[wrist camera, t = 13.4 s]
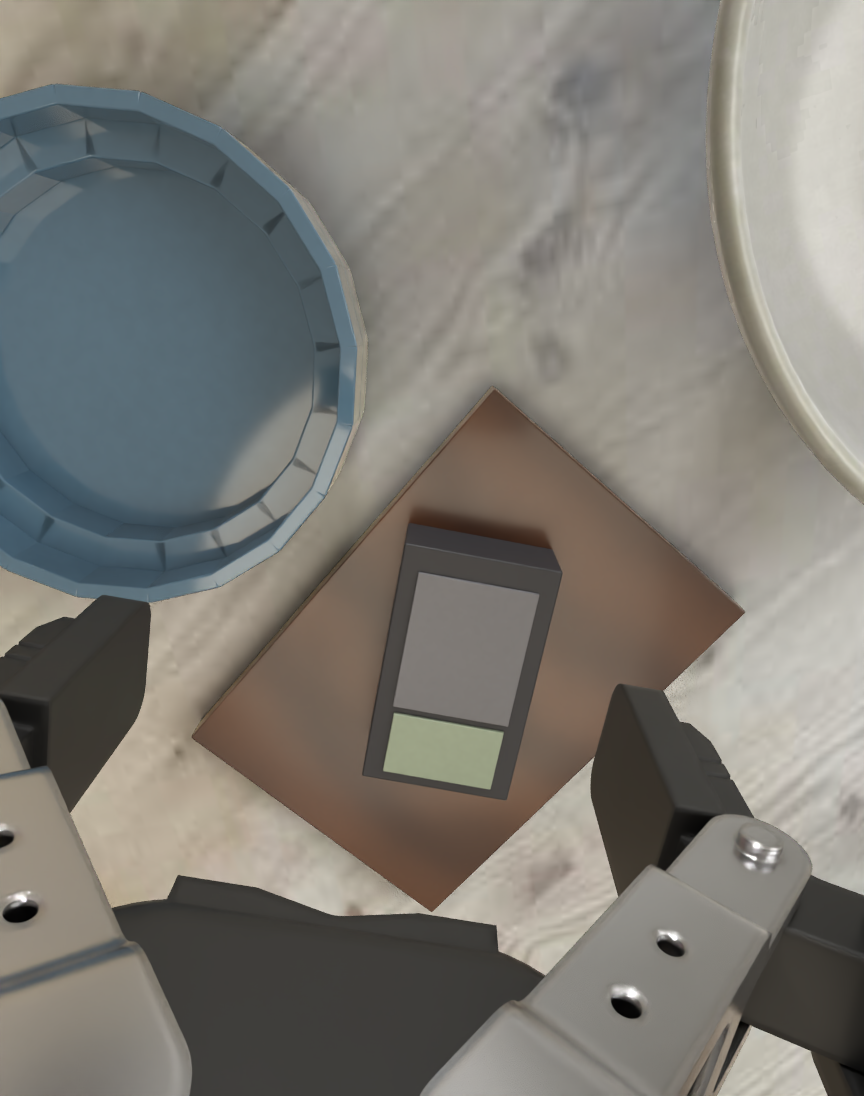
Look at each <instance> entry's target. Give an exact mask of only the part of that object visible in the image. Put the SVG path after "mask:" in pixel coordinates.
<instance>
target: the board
mask: <svg viewBox="0 0 864 1096" xmlns="http://www.w3.org/2000/svg"><path fill="white" fill-rule="evenodd" d="M409 523H413V524H418V525H424V526H429V527H434V528H440V529H445V530H450V531H456V532H461V533H467V534H472V535H477V536H483V537H488V538H494V539H499V540H504V541H510V542H515V543H520V544H526V545H531V546H537V547H542V548H547V549H552V550H553V551H554V554H555V556H556V558H557V561H558V563H559V565H560V568H561V570H562V572H563V575H562V579H561V583H560V587H559V591H558V595H557V599H556V603H555V607H554V611H553V615H552V619H551V623H550V627H549V631H548V635H547V640H546V644H545V648H544V652H543V656H542V660H541V664H540V668H539V672H538V676H537V680H536V684H535V688H534V692H533V696H532V700H531V704H530V708H529V713H528V717H527V721H526V725H525V729H524V733H523V737H522V741H521V745H520V749H519V753H518V757H517V761H516V765H515V769H514V773H513V777H512V781H511V785H510V790H509V794H508V798H507V800H499V799H493V798H488V797H482V796H476V795H470V794H465V793H459V792H453V791H447V790H442V789H436V788H430V787H424V786H419V785H413V784H407V783H401V782H396V781H390V780H384V779H378V778H373V777H367V776H363V775H362V770H363V765H364V759H365V753H366V748H367V742H368V737H369V731H370V726H371V721H372V715H373V710H374V704H375V699H376V694H377V688H378V683H379V678H380V672H381V667H382V661H383V656H384V651H385V645H386V640H387V635H388V629H389V624H390V618H391V613H392V608H393V602H394V597H395V592H396V586H397V581H398V575H399V570H400V565H401V559H402V554H403V549H404V543H405V538H406V532H407V527H408V524H409ZM744 613H745V611H744V610H743V609H742V608H741V607H740V606H739V605H738V604H737V603H736V602H735V601H734V599H732V598H731V597H730V596H729V595H728V594H727V593H726V592H725V591H723V590H722V589H721V588H720V587H719V586H718V585H717V584H716V583H714V582H713V581H712V580H711V579H710V578H709V577H708V576H707V575H705V574H704V573H703V572H702V571H701V570H700V569H699V568H698V567H696V566H695V565H694V564H693V563H692V562H691V561H690V560H689V559H687V558H686V557H685V556H684V555H683V554H682V553H681V552H680V551H678V550H677V549H676V548H675V547H674V546H673V545H672V544H671V543H669V542H668V541H667V540H666V539H665V538H664V537H663V536H661V535H660V534H659V533H658V532H657V531H656V530H655V529H654V528H652V527H651V526H650V525H649V524H648V523H647V522H646V521H645V520H643V519H642V518H641V517H640V516H639V515H638V514H637V513H636V512H634V511H633V510H632V509H631V508H630V507H629V506H628V505H627V504H625V503H624V502H623V501H622V500H621V499H620V498H619V497H618V496H616V495H615V494H614V493H613V492H612V491H611V490H610V489H609V488H607V487H606V486H605V485H604V484H603V483H602V482H601V481H600V480H598V479H597V478H596V477H595V476H594V475H593V474H592V473H591V472H589V471H588V470H587V469H586V468H585V467H584V466H583V465H582V464H580V463H579V462H578V461H577V460H576V459H575V458H574V457H573V456H571V455H570V454H569V453H568V452H567V451H566V450H565V449H564V448H562V447H561V446H560V445H559V444H558V443H557V442H556V441H555V440H553V439H552V438H551V437H550V436H549V435H548V434H547V433H546V432H544V431H543V430H542V429H541V428H540V427H539V426H538V425H537V424H535V423H534V422H533V421H532V420H531V419H530V418H529V417H528V416H526V415H525V414H524V413H523V412H522V411H521V410H520V409H519V408H517V407H516V406H515V405H514V404H513V403H512V402H511V401H510V400H508V399H507V398H506V397H505V396H504V395H503V394H502V393H501V392H499V391H498V390H497V389H496V388H495V387H494V386H491V388H490V389H489V390H488V391H487V392H486V393H485V394H484V396H483V397H482V398H481V399H480V400H479V401H478V402H477V404H476V405H475V406H474V407H473V408H472V409H471V411H470V412H469V413H468V414H467V415H466V416H465V417H464V419H463V420H462V421H461V422H460V423H459V424H458V425H457V427H456V428H455V429H454V430H453V431H452V432H451V434H450V435H449V436H448V437H447V438H446V439H445V440H444V442H443V443H442V444H441V445H440V446H439V447H438V448H437V450H436V451H435V452H434V453H433V454H432V455H431V457H430V458H429V459H428V460H427V461H426V462H425V463H424V465H423V466H422V467H421V468H420V469H419V470H418V471H417V473H416V474H415V475H414V476H413V477H412V478H411V479H410V481H409V482H408V483H407V484H406V485H405V486H404V488H403V489H402V490H401V491H400V492H399V493H398V494H397V496H396V497H395V498H394V499H393V500H392V501H391V502H390V504H389V505H388V506H387V507H386V508H385V509H384V511H383V512H382V513H381V514H380V515H379V516H378V517H377V519H376V520H375V521H374V522H373V523H372V524H371V525H370V527H369V528H368V529H367V530H366V531H365V532H364V534H363V535H362V536H361V537H360V538H359V539H358V540H357V542H356V543H355V544H354V545H353V546H352V547H351V548H350V550H349V551H348V552H347V553H346V554H345V555H344V557H343V558H342V559H341V560H340V561H339V562H338V563H337V565H336V566H335V567H334V568H333V569H332V570H331V571H330V573H329V574H328V575H327V576H326V577H325V578H324V580H323V581H322V582H321V583H320V584H319V585H318V586H317V588H316V589H315V590H314V591H313V592H312V593H311V594H310V596H309V597H308V598H307V599H306V600H305V601H304V603H303V604H302V605H301V606H300V607H299V608H298V609H297V611H296V612H295V613H294V614H293V615H292V616H291V617H290V619H289V620H288V621H287V622H286V623H285V624H284V626H283V627H282V628H281V629H280V630H279V631H278V632H277V634H276V635H275V636H274V637H273V638H272V639H271V640H270V642H269V643H268V644H267V645H266V646H265V647H264V649H263V650H262V651H261V652H260V653H259V654H258V655H257V657H256V658H255V659H254V660H253V661H252V662H251V663H250V665H249V666H248V667H247V668H246V669H245V670H244V672H243V673H242V674H241V675H240V676H239V677H238V678H237V680H236V681H235V682H234V683H233V684H232V685H231V686H230V688H229V689H228V690H227V691H226V692H225V693H224V695H223V696H222V697H221V698H220V699H219V700H218V701H217V703H216V704H215V705H214V706H213V707H212V708H211V709H210V711H209V712H208V713H207V714H206V715H205V716H204V718H203V719H202V720H201V721H200V723H199V724H198V726H197V728H196V730H195V731H194V733H193V735H192V738H193V739H194V740H195V741H197V742H198V743H200V744H201V745H202V746H204V747H205V748H206V749H208V750H209V751H211V752H212V753H213V754H215V755H216V756H217V757H219V758H220V759H222V760H223V761H224V762H226V763H227V764H228V765H230V766H231V767H233V768H234V769H235V770H237V771H238V772H239V773H241V774H242V775H244V776H245V777H246V778H248V779H249V780H250V781H252V782H253V783H255V784H256V785H257V786H259V787H260V788H262V789H263V790H264V791H266V792H267V793H268V794H270V795H271V796H273V797H274V798H275V799H277V800H278V801H279V802H281V803H282V804H284V805H285V806H286V807H288V808H289V809H290V810H292V811H293V812H295V813H296V814H297V815H299V816H300V817H301V818H303V819H304V820H306V821H307V822H308V823H310V824H311V825H312V826H314V827H315V828H317V829H318V830H319V831H321V832H322V833H323V834H325V835H326V836H328V837H329V838H330V839H332V840H333V841H334V842H336V843H337V844H339V845H340V846H341V847H343V848H344V849H345V850H347V851H348V852H350V853H351V854H352V855H354V856H355V857H356V858H358V859H359V860H361V861H362V862H363V863H365V864H366V865H368V866H369V867H370V868H372V869H373V870H374V871H376V872H377V873H379V874H380V875H381V876H383V877H384V878H385V879H387V880H388V881H390V882H391V883H392V884H394V885H395V886H396V887H398V888H399V889H401V890H402V891H403V892H405V893H406V894H407V895H409V896H410V897H412V898H413V899H414V900H416V901H417V902H418V903H420V904H421V905H423V906H424V907H425V908H427V909H428V910H429V911H431V912H432V911H433V910H434V909H436V908H437V907H438V906H439V905H440V904H441V903H442V902H443V901H444V900H445V899H446V898H447V897H448V896H449V895H450V894H451V893H452V892H453V891H454V890H455V889H456V888H457V887H459V886H460V885H461V884H462V883H463V882H464V881H465V880H466V879H467V878H468V877H469V876H470V875H471V874H472V873H473V872H474V871H475V870H476V869H477V868H478V867H479V866H480V865H482V864H483V863H484V862H485V861H486V860H487V859H488V858H489V857H490V856H491V855H492V854H493V853H494V852H495V851H496V850H497V849H498V848H499V847H500V846H501V845H502V844H503V843H505V842H506V841H507V840H508V839H509V838H510V837H511V836H512V835H513V834H514V833H515V832H516V831H517V830H518V829H519V828H520V827H521V826H522V825H523V824H524V823H525V822H526V821H528V820H529V819H530V818H531V817H532V816H533V815H534V814H535V813H536V812H537V811H538V810H539V809H540V808H541V807H542V806H543V805H544V804H545V803H546V802H547V801H548V800H549V799H551V798H552V797H553V796H554V795H555V794H556V793H557V792H558V791H559V790H560V789H561V788H562V787H563V786H564V785H565V784H566V783H567V782H568V781H569V780H570V779H571V778H572V777H574V776H575V775H576V774H577V773H578V772H579V771H580V770H581V769H582V768H583V767H584V766H585V765H586V764H587V763H588V762H589V761H590V760H591V759H592V758H593V757H594V756H595V754H596V751H597V747H598V743H599V740H600V736H601V733H602V729H603V725H604V722H605V718H606V714H607V711H608V707H609V703H610V700H611V696H612V694H613V691H614V689H615V687H616V686H617V685H618V684H626V685H632V686H638V687H644V688H650V689H656V690H661V691H663V690H665V689H666V688H667V687H668V686H669V685H670V684H671V683H672V682H673V681H674V680H675V679H676V678H677V677H678V676H679V675H680V674H681V673H682V672H683V671H684V670H685V669H686V668H688V667H689V666H690V665H691V664H692V663H693V662H694V661H695V660H696V659H697V658H698V657H699V656H700V655H701V654H702V653H703V652H704V651H705V650H706V649H707V648H708V647H709V646H711V645H712V644H713V643H714V642H715V641H716V640H717V639H718V638H719V637H720V636H721V635H722V634H723V633H724V632H725V631H726V630H727V629H728V628H729V627H730V626H731V625H732V624H734V623H735V622H736V621H737V620H738V619H739V618H740V617H741V616H742V615H743V614H744Z"/></svg>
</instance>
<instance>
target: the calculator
mask: <svg viewBox="0 0 864 1096" xmlns="http://www.w3.org/2000/svg"><path fill="white" fill-rule="evenodd" d="M562 575H563V572H562V570H561V568H560V565H559V563H558V561H557V558H556V556H555V554H554V551H553V550H552V549H547V548H542V547H537V546H531V545H526V544H520V543H515V542H510V541H504V540H499V539H494V538H488V537H483V536H477V535H472V534H467V533H461V532H456V531H450V530H445V529H440V528H434V527H429V526H424V525H418V524H413V523H409V524H408V527H407V532H406V538H405V543H404V549H403V554H402V559H401V565H400V570H399V575H398V581H397V586H396V592H395V597H394V602H393V608H392V613H391V618H390V624H389V629H388V635H387V640H386V645H385V651H384V656H383V661H382V667H381V672H380V678H379V683H378V688H377V694H376V699H375V704H374V710H373V715H372V721H371V726H370V731H369V737H368V742H367V748H366V753H365V759H364V765H363V770H362V775H363V776H367V777H373V778H378V779H384V780H390V781H396V782H401V783H407V784H413V785H419V786H424V787H430V788H436V789H442V790H447V791H453V792H459V793H465V794H470V795H476V796H482V797H488V798H493V799H499V800H507V798H508V794H509V790H510V785H511V781H512V777H513V773H514V769H515V765H516V761H517V757H518V753H519V749H520V745H521V741H522V737H523V733H524V729H525V725H526V721H527V717H528V713H529V708H530V704H531V700H532V696H533V692H534V688H535V684H536V680H537V676H538V672H539V668H540V664H541V660H542V656H543V652H544V648H545V644H546V640H547V635H548V631H549V627H550V623H551V619H552V615H553V611H554V607H555V603H556V599H557V595H558V591H559V587H560V583H561V579H562Z"/></svg>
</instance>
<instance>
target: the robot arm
mask: <svg viewBox="0 0 864 1096" xmlns="http://www.w3.org/2000/svg"><path fill="white" fill-rule="evenodd" d="M150 621H151V611H150V606H149V603H148V602H144V601H138V600H132V599H126V598H120V597H114V596H108V595H101V596H100V597H98V598H97V599H96V600H95V601H94V602H93V603H92V604H91V605H90V606H88V607H87V608H86V609H85V610H84V611H83V612H82V613H81V614H80V615H79V616H77V617H76V618H75V619H74V618H68V617H62V618H60V619H57V620H54V621H52V622H49V623H46V624H44V625H41V626H39V627H36V628H35V629H34V630H33V631H31V632H30V633H29V634H28V635H27V636H25V637H24V638H23V639H22V640H21V641H20V642H19V645H15V646H14V647H12V648H11V649H10V650H9V651H8V652H6V653H5V656H4V657H1V658H0V1096H717V1095H718V1093H719V1091H720V1089H721V1087H722V1085H723V1083H724V1081H725V1079H726V1077H727V1075H728V1073H729V1071H730V1069H731V1068H732V1066H733V1064H734V1062H735V1060H736V1058H737V1056H738V1054H739V1052H740V1050H741V1048H742V1046H743V1044H744V1042H745V1041H746V1039H747V1037H748V1035H749V1032H750V1030H751V1027H752V1026H753V1027H756V1028H758V1029H760V1030H763V1031H765V1032H768V1033H770V1034H772V1035H775V1036H777V1037H779V1038H782V1039H784V1040H786V1041H789V1042H791V1043H794V1044H796V1045H798V1046H801V1047H803V1048H805V1049H808V1050H810V1051H811V1053H812V1057H813V1060H814V1063H815V1066H816V1068H817V1070H818V1073H819V1075H820V1078H821V1080H822V1083H823V1085H824V1088H825V1090H826V1093H827V1095H828V1096H864V895H861V894H858V893H855V892H853V891H850V890H847V889H844V888H842V887H839V886H836V885H833V884H831V883H828V882H826V881H823V880H821V879H818V878H816V877H814V876H812V875H811V872H812V863H811V860H810V858H809V856H808V854H807V853H806V851H805V850H804V849H803V848H802V847H801V846H800V845H799V844H798V843H797V842H796V841H795V840H794V839H793V838H791V837H790V836H789V835H787V834H786V833H784V832H783V831H781V830H779V829H778V828H776V827H774V826H772V825H770V824H768V823H766V822H763V821H760V820H758V819H755V818H754V817H753V815H752V813H751V811H750V810H749V808H748V806H747V804H746V803H745V801H744V799H743V797H742V796H741V794H740V792H739V790H738V789H737V787H736V785H735V783H734V782H733V780H730V774H729V773H728V771H727V769H726V767H725V766H724V764H721V761H722V760H721V759H720V757H719V755H718V753H717V752H716V750H715V748H714V746H713V745H712V743H711V741H709V740H708V739H707V738H706V737H705V736H704V735H702V734H701V733H700V732H699V731H698V730H697V729H696V728H694V727H693V726H692V725H691V724H690V723H684V722H679V720H678V718H677V716H676V714H675V713H674V711H673V709H672V707H671V705H670V703H669V701H668V699H667V697H666V695H665V694H664V692H663V691H661V690H656V689H650V688H644V687H638V686H632V685H626V684H618V685H617V686H616V687H615V689H614V691H613V694H612V696H611V700H610V703H609V707H608V711H607V714H606V718H605V722H604V725H603V729H602V733H601V736H600V740H599V743H598V747H597V751H596V754H595V758H594V762H593V767H592V773H591V798H592V803H593V806H594V810H595V814H596V817H597V821H598V824H599V828H600V832H601V835H602V839H603V843H604V846H605V850H606V853H607V857H608V861H609V864H610V868H611V872H612V875H613V879H614V883H615V886H616V890H617V893H618V898H617V899H616V900H615V901H614V902H613V903H612V905H611V906H610V907H609V908H608V909H607V910H606V911H605V912H604V913H603V914H602V915H601V916H600V918H599V919H598V920H597V921H596V922H595V923H594V924H593V925H592V926H591V927H590V928H589V929H588V931H587V932H586V933H585V934H584V935H583V936H582V937H581V938H580V939H579V940H578V941H577V943H576V944H575V945H574V946H573V947H572V948H571V949H570V950H569V951H568V952H567V953H566V954H565V956H564V957H563V958H562V959H561V960H560V961H559V962H558V963H557V964H556V965H555V966H554V967H553V969H552V970H551V971H550V972H549V973H548V974H547V975H546V976H545V975H543V974H542V973H540V972H539V971H537V970H535V969H534V968H532V967H530V966H529V965H527V964H525V963H523V962H521V961H519V960H517V959H515V958H513V957H511V956H509V955H506V954H504V953H501V952H498V941H497V927H496V925H489V924H483V923H477V922H470V921H464V920H458V919H451V918H445V917H439V916H432V915H426V914H420V913H416V914H391V915H366V916H334V915H330V914H327V913H324V912H321V911H319V910H316V909H313V908H311V907H308V906H305V905H302V904H300V903H297V902H294V901H292V900H289V899H286V898H283V897H281V896H278V895H275V894H273V893H270V892H267V891H265V890H262V889H259V888H256V887H249V886H243V885H237V884H230V883H224V882H218V881H211V880H205V879H199V878H192V877H186V876H180V875H178V876H177V878H176V881H175V883H174V885H173V887H172V889H171V892H170V894H169V896H168V898H167V899H163V900H151V901H144V902H136V903H131V904H127V905H122V906H118V907H114V908H111V906H110V904H109V902H108V899H107V897H106V895H105V892H104V890H103V888H102V886H101V883H100V881H99V879H98V876H97V874H96V872H95V870H94V867H93V865H92V863H91V861H90V858H89V856H88V854H87V851H86V849H85V847H84V845H83V842H82V840H81V838H80V835H79V833H78V831H77V829H76V826H75V824H74V822H73V819H72V817H71V815H70V812H71V811H72V810H73V808H74V807H75V805H76V804H77V803H78V801H79V800H80V798H81V797H82V796H83V794H84V793H85V791H86V790H87V789H88V787H89V786H90V784H91V783H92V782H93V780H94V779H95V777H96V776H97V774H98V773H99V772H100V770H101V769H102V767H103V766H104V765H105V763H106V762H107V760H108V759H109V758H110V756H111V755H112V753H113V752H114V751H115V749H116V748H117V746H118V745H119V744H120V742H121V741H122V739H123V738H124V737H125V735H126V734H127V732H128V731H129V729H130V728H131V727H132V725H133V724H134V722H135V720H136V718H137V716H138V714H139V711H140V709H141V705H142V702H143V698H144V693H145V685H146V673H147V660H148V647H149V634H150Z"/></svg>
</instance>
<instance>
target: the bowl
mask: <svg viewBox="0 0 864 1096" xmlns="http://www.w3.org/2000/svg"><path fill="white" fill-rule="evenodd" d="M367 357H368V337H367V333H366V329H365V325H364V321H363V317H362V313H361V309H360V305H359V301H358V297H357V294H356V290H355V286H354V282H353V278H352V274H351V270H350V269H349V266H348V264H347V263H346V261H345V259H344V258H343V256H342V254H341V253H340V251H339V249H338V248H337V246H336V244H335V243H334V241H333V239H332V238H331V236H330V234H329V233H328V231H327V229H326V228H325V226H324V224H323V223H322V221H321V219H320V218H319V216H318V214H317V213H316V211H315V209H314V208H313V206H312V205H311V204H310V202H309V201H308V200H307V199H306V198H305V197H304V196H303V195H301V194H300V193H299V192H298V191H297V190H296V189H295V188H294V187H293V186H291V185H290V184H289V183H288V182H287V181H286V180H285V179H284V178H282V177H281V176H280V175H279V174H278V173H277V172H276V171H275V170H273V169H272V168H271V167H270V166H269V165H268V164H267V163H266V162H265V161H263V160H262V159H261V158H260V157H259V156H258V155H257V154H256V153H254V152H253V151H252V150H251V149H250V148H248V147H247V146H246V145H244V144H243V143H242V142H241V141H239V140H238V139H237V138H235V137H234V136H233V135H232V134H230V133H229V132H228V131H226V130H225V129H223V128H222V127H221V126H218V125H216V124H214V123H212V122H209V121H207V120H205V119H203V118H200V117H198V116H196V115H194V114H191V113H189V112H187V111H185V110H182V109H180V108H178V107H176V106H174V105H171V104H169V103H167V102H165V101H162V100H160V99H158V98H156V97H153V96H151V95H149V94H147V93H144V92H140V91H137V90H125V89H114V88H102V87H91V86H79V85H68V84H50V85H46V86H43V87H39V88H35V89H32V90H28V91H25V92H21V93H18V94H14V95H10V96H7V97H3V98H0V566H1V567H2V568H4V569H7V571H10V572H12V573H15V574H18V575H20V576H23V577H25V578H28V579H31V580H33V581H36V582H38V583H41V584H44V585H46V586H49V587H52V588H54V589H57V590H59V591H62V592H65V593H67V594H70V595H73V596H77V597H81V598H93V599H97V598H98V597H100V596H101V595H108V596H114V597H120V598H126V599H132V600H138V601H144V602H148V603H149V602H150V603H152V602H157V601H161V600H166V599H170V598H175V597H179V596H184V595H188V594H193V593H197V592H202V591H206V590H211V589H215V588H218V587H221V586H223V585H225V584H226V583H228V582H230V581H231V580H233V579H235V578H236V577H238V576H240V575H241V574H243V573H245V572H246V571H248V570H250V569H251V568H253V567H255V566H256V565H258V564H260V563H261V562H263V561H265V560H266V559H268V558H270V557H271V556H273V555H275V554H276V553H278V552H279V551H280V550H281V549H282V548H283V547H284V546H285V544H286V543H287V542H288V541H289V540H290V539H291V537H292V536H293V535H294V534H295V533H296V531H297V530H298V529H299V528H300V527H301V525H302V524H303V523H304V522H305V521H306V520H307V518H308V517H309V516H310V515H311V514H312V512H313V511H314V510H315V509H316V508H317V507H318V505H319V504H320V503H321V502H322V501H323V499H324V498H325V497H326V495H327V493H328V492H329V490H330V489H331V487H332V485H333V484H334V482H335V480H336V479H337V477H338V476H339V474H340V472H341V470H342V467H343V465H344V462H345V460H346V457H347V455H348V452H349V449H350V447H351V444H352V442H353V439H354V437H355V434H356V432H357V429H358V426H359V424H360V421H361V419H362V416H363V411H364V409H365V392H366V375H367Z"/></svg>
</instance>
